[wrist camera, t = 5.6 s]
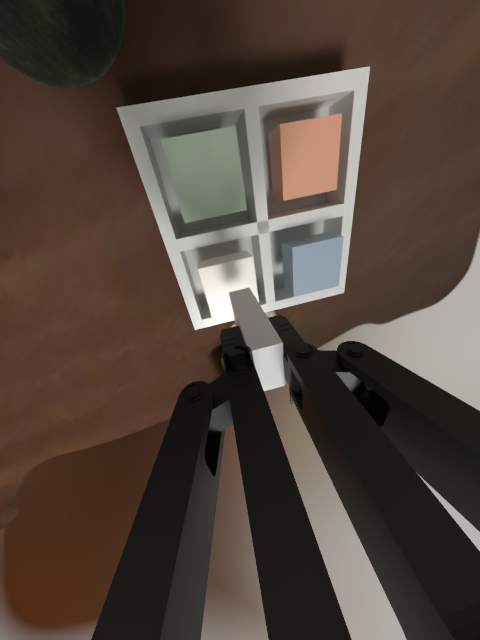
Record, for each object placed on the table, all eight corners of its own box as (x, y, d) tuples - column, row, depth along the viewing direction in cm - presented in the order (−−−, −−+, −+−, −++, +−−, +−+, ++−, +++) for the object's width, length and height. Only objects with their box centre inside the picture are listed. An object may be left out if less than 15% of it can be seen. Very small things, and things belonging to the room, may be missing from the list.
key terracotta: (271, 200, 19) (283, 200, 16) (266, 136, 16) (279, 124, 14) (317, 191, 19) (336, 189, 17) (319, 126, 17) (342, 113, 14)
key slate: (282, 285, 22) (293, 297, 19) (279, 241, 19) (292, 247, 17) (321, 275, 22) (338, 285, 20) (323, 231, 20) (343, 235, 17)
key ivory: (209, 302, 21) (211, 317, 19) (197, 259, 19) (197, 269, 16) (251, 292, 22) (259, 305, 19) (245, 248, 19) (252, 256, 17)
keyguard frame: (195, 314, 24) (195, 329, 21) (131, 125, 15) (116, 107, 12) (327, 282, 26) (343, 292, 23) (339, 89, 17) (370, 66, 14)
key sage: (186, 219, 17) (184, 223, 14) (166, 150, 15) (160, 139, 12) (238, 208, 17) (246, 210, 15) (228, 139, 15) (235, 125, 12)
